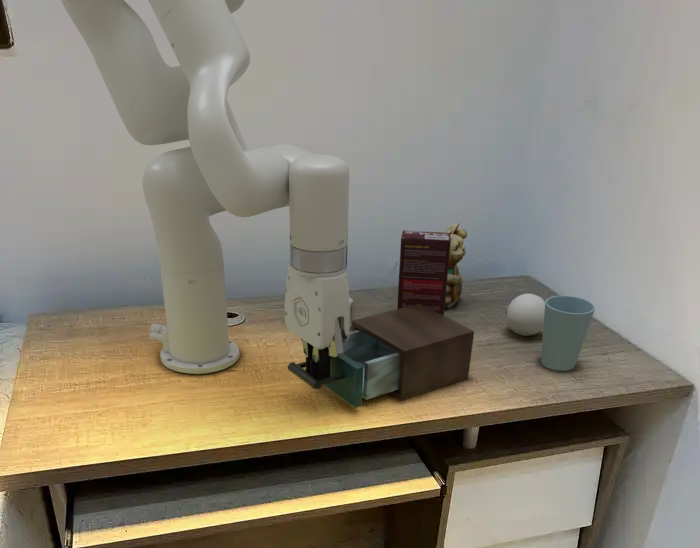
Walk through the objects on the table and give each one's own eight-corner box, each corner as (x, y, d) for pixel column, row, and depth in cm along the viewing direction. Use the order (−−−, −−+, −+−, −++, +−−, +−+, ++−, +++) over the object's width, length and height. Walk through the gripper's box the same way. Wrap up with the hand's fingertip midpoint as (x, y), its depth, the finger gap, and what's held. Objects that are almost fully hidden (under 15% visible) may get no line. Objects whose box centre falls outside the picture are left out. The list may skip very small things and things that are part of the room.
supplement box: (442, 317, 137) (451, 231, 128) (442, 328, 133) (452, 240, 124) (396, 314, 137) (402, 229, 128) (394, 325, 133) (400, 237, 124)
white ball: (553, 339, 130) (561, 299, 126) (518, 345, 128) (525, 305, 123) (520, 318, 138) (527, 280, 134) (487, 323, 135) (492, 285, 131)
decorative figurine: (453, 313, 138) (462, 233, 130) (411, 306, 141) (417, 227, 132) (465, 296, 146) (474, 220, 138) (425, 290, 148) (432, 214, 140)
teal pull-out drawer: (323, 418, 103) (323, 378, 99) (279, 384, 111) (278, 346, 107) (421, 386, 112) (425, 348, 108) (374, 357, 120) (376, 321, 116)
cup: (590, 364, 122) (604, 304, 116) (566, 379, 117) (579, 317, 112) (551, 350, 126) (562, 291, 121) (525, 363, 122) (536, 303, 116)
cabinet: (401, 400, 110) (404, 351, 105) (350, 367, 118) (351, 320, 114) (468, 378, 116) (474, 331, 112) (415, 348, 125) (419, 303, 121)
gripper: (265, 246, 100) (269, 368, 110) (327, 279, 90) (325, 409, 100) (311, 238, 104) (311, 356, 114) (375, 268, 94) (369, 395, 104)
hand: (317, 381), depth 107 cm, fingers closed
